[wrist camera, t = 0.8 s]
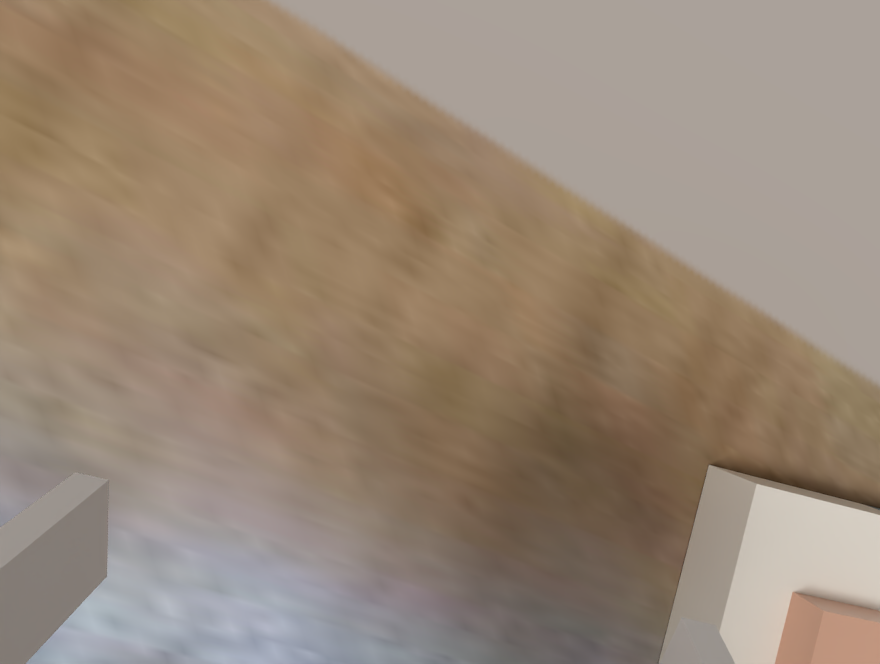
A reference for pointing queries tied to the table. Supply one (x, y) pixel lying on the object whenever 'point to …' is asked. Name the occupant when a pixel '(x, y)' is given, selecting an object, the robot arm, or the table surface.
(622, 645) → the table surface
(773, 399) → the table surface
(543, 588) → the table surface
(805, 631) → the tile
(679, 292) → the table surface
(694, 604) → the plate
